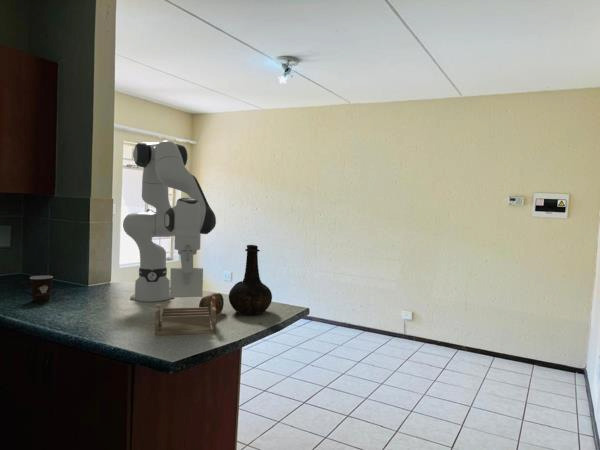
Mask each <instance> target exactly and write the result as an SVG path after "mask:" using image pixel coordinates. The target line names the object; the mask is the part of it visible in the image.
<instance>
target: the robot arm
mask: <svg viewBox="0 0 600 450" xmlns="http://www.w3.org/2000/svg"><path fill="white" fill-rule="evenodd" d="M132 158H133V161H134V164H135V165H136V166H137V167H140V168H143V171H142V180H141V181H142V182H141V199H142V201H143V202H144V203H146V204H147V205H149V206H151V207H153V208H154V209H155V211H154V212H133V213H132V212H131V213H129V214H127V215H126V216H125V217H124V219H123V222H122V227H123V231H124V233H125V234H126V235H127V236H128V237H130V238H131V239H132V240H133V241H134V242H135V244H136V245H137V247H138V251H139V260H140V261H139V264H140V266H139V267H138V278H137V279H136V280H134V281H135V283H134V284H135V285H134V294H132V295H131V296H130V300H136V301H138V302H139V301H140V302H163V301H166V300H171V299H175V297H170V279H169V278H168V277H167V272H168V267H167V251H166V249H165V248H164V247H163V246H161V245H159V244H157V243H155V242H153V238H170V237H174V250H176V251H177V255H179V257H180V264H181V268H182V274H183V275H184V284H185V285H189V282H190V275H192V274H193V268H194V255H197V251H199V250H201V238H202V237H201V235H208V234H210V233H211V232H212V231H213V230H214V229H215V227H216V225H217V217H216V214H215V212H214V211H213V210H212V207H210V204H209V203H208V201H207V197H206V196H205V193H204V191H203V190H202V187H201V184H200V183H199V180H198V179H197V177H196V176H194V174H192V173H191V172H190V171H189V170H188V169H187V167H186V165H187V164H188V158H189V156H188V151H187V148H186V146H184V145H182V144H179V143H174V142H173V141H170V140H162V141H160V142H155V141H154V142H146V141H142V142H138V143H137V144H135V146H134V149H133V151H132ZM169 188H171V189H173V190H174V189H175V190H177V191H180V192H183V193H185V194H186V195H188V196H189V197H181V198H178V199H177V200H176V203H175V206H173V207H172V206H171V203H170V200H169V199H170V198H169Z"/></svg>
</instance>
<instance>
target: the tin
mask: <svg viewBox="0 0 600 450" xmlns="http://www.w3.org/2000/svg"><path fill="white" fill-rule="evenodd" d="M214 296H215V308H216V316H217V315H220V314H221V313H222V311H223V309H224V304H225V302H224V296H223V295H222V293H219V292H218V293H217V292H215V293H211V294H208V295H206V296H202V297H201V298H200V301H199V304H198V308H199V307H208V310H209V315H210V314H211V302H212V297H214Z"/></svg>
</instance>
